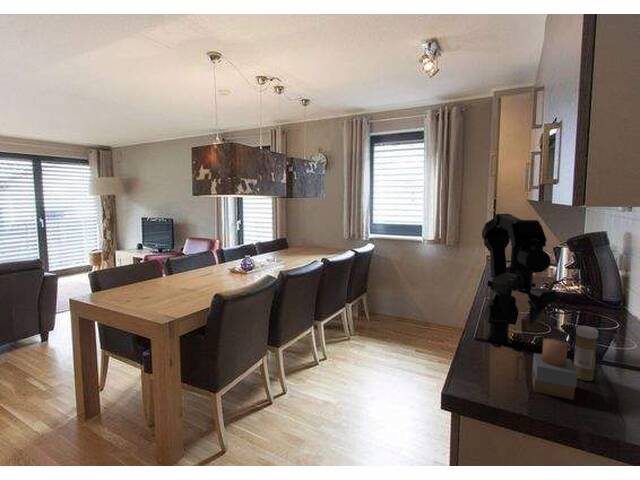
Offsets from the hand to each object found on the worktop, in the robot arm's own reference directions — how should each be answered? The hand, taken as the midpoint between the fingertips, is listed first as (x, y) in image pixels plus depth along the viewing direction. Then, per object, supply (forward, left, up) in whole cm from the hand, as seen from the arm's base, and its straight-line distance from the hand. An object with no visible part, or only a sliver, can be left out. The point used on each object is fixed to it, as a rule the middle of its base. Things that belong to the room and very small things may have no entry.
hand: (517, 317), depth 101 cm
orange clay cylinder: (+12, +8, -6) cm, 16 cm away
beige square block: (+13, +8, -13) cm, 20 cm away
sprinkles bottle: (+3, +16, -13) cm, 21 cm away
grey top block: (+13, +8, -10) cm, 18 cm away
